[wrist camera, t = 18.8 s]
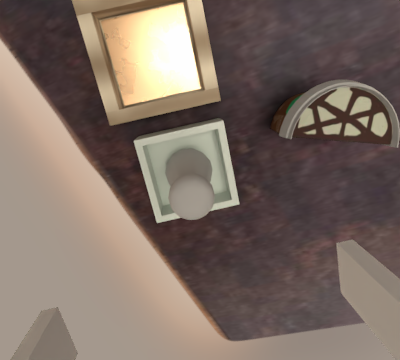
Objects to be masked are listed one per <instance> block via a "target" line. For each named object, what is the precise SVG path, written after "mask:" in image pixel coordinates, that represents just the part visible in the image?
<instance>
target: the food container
mask: <svg viewBox="0 0 400 360" xmlns="http://www.w3.org/2000/svg"><path fill="white" fill-rule="evenodd" d="M270 129H272V130H274V131H276V132H277V133H279V136H281V137H284V138H289V139H292V137H296V138H312V139H325V140H335V141H348V142H361V143H373V144H383V145H387V146H392V147H396V148H398V144H399V135H400V129H399V122H398V118H397V115H396V112H395V110H394V108H393V106H392V105H391V104H390V102H389V101H388V100H387V99H386V98H385V97H384V96H383V95H382V94H381V93H380V92H379V91H377V90H376V89H374V88H372V87H370V86H367V85H365V84H362V83H359V82H357V81H351V80H333V81H328V82H325V83H322V84H319V85H317V86H315V87H313V88H312V89H310V90H309V91H307V92H305V93H300V94H297V95H294V96H293V97H291V98H289V99H288V100H286V101H285V102H284V103H283V104H282V105H281V106H280V107H279V109H278V110H277V111H276V113H275V115H274V117H273V120H272V122H271V127H270Z"/></svg>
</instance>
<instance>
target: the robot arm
mask: <svg viewBox="0 0 400 360" xmlns="http://www.w3.org/2000/svg"><path fill="white" fill-rule="evenodd" d="M336 244H337V255H338V266H339V277H340V288H341V293H342V295H343V296H344V297H345V298H346V300H347V301H348V302H349V303H350V304H351V306H352V307H353V308H354V309H355V311H356V312H357V313H358V314H359V315H360V317H361V318H362V319H363V320H364V322H365V323H366V324H367V325H368V326H369V328H370V329H371V330H372V331H373V333H374V334H375V335H376V336H377V337H378V339H379V340H380V341H381V343H382V344H383V345H384V346H385V347H386V349H387V350H388V351H389V352H390V354H391V355H392V356H393V357H394V358H395V360H400V279H399V278H398V277H397V276H396V275H394V274H393V273H392V272H391V271H390V270H388V269H387V268H386V267H385V266H384V265H382V264H381V263H380V262H379V261H378V260H376V259H375V258H374V257H373V256H372V255H370V254H369V253H368V252H367V251H366V250H365V249H363V248H362V247H361V246H360V245H359V244H357V243H356V242H355V241H354V240H348V241H344V242H340V243H336ZM77 354H78V353H77V350H76V348H75V346H74V343H73V341H72V339H71V336H70V334H69V332H68V330H67V327H66V325H65V323H64V320H63V318H62V316H61V313H60V311H59V309H58V307H57V308H52V309H48V310H43V311H41V313H40V314H39V316H38V317H37V319H36V321H35V322H34V324H33V325H32V327H31V328H30V330H29V331H28V333H27V334H26V336H25V338H24V339H23V341H22V342H21V344H20V346H19V347H18V349H17V350H16V352H15V353H14V355H13V357H12V358H11V360H75V359H76V356H77Z"/></svg>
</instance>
